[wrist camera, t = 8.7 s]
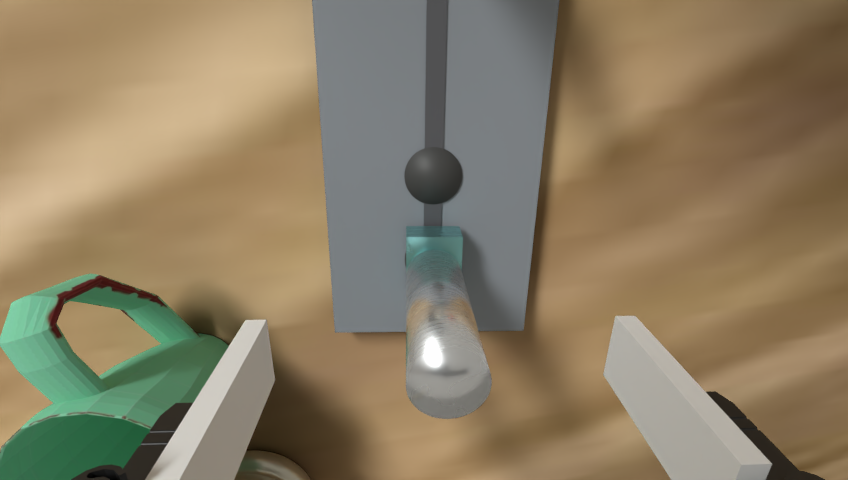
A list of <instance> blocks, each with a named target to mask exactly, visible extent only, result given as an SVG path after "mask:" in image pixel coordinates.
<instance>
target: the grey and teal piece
mask: <svg viewBox="0 0 848 480" xmlns="http://www.w3.org/2000/svg"><path fill="white" fill-rule="evenodd" d="M312 6H313V20H314V35H315V49H316V64H317V78H318V93H319V107H320V122H321V136H322V151H323V165H324V180H325V194H326V209H327V223H328V238H329V252H330V267H331V282H332V296H333V311H334V325H335V332H406V226H459V227H460V230H461V233H462V236H463V248H462V269H461V272H462V275H463V279H464V282H465V286H466V289H467V293H468V296H469V300H470V303H471V307H472V310H473V314H474V317H475V321H476V325H477V328H478V331H523V330H524V321H525V312H526V303H527V294H528V284H529V275H530V266H531V257H532V248H533V238H534V229H535V220H536V211H537V202H538V192H539V183H540V174H541V165H542V156H543V146H544V137H545V128H546V119H547V110H548V100H549V91H550V82H551V73H552V64H553V54H554V45H555V36H556V27H557V18H558V8H559V0H312Z"/></svg>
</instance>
